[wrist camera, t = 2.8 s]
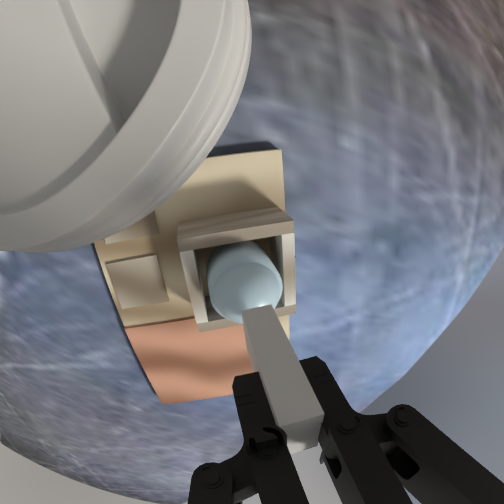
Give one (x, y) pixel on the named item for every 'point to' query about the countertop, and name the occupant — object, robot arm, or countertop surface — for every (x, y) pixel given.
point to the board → (198, 273)
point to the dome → (242, 279)
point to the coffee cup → (109, 110)
